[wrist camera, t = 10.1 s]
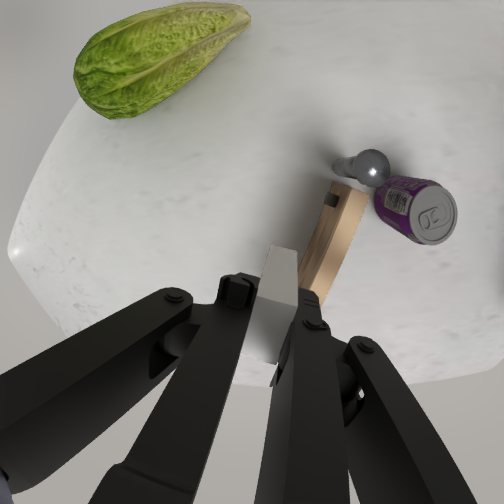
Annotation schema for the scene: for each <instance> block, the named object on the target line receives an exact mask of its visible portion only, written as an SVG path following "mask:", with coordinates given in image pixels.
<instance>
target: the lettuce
mask: <svg viewBox="0 0 504 504" xmlns="http://www.w3.org/2000/svg"><path fill="white" fill-rule="evenodd" d="M250 26H251V20H250V14H249V13H248V12H247V10H246V9H245V8H244V7H243V6H238V5H233V4H222V3H207V2H187V3H182V4H177V5H173V6H168V7H163V8H159V9H153V10H149V11H144V12H141V13H138V14H135V15H133V16H130V17H128V18H126V19H123V20H121V21H118V22H116V23H114V24H111V25H109V26H108V27H106V28H104V29H103V30H101V31H99V32H98V33H96V34H95V35H94V36H92V37H91V38H90V39H89V41H88V42H87V44H86V45H85V46H84V48H83V49H82V51H81V52H80V54H79V55H78V57H77V58H76V63H75V67H74V75H73V78H74V81H75V84H76V87H77V89H78V92H79V94H80V96H81V98H82V99H83V100H84V101H85V103H86V104H87V105H88V106H89V107H90V108H92V109H93V110H94V111H96V112H97V113H98V114H100V115H102V116H104V117H106V118H108V119H122V118H132V117H135V116H138V115H140V114H142V113H144V112H146V111H148V110H150V109H151V108H153V107H154V106H156V105H157V104H159V103H160V102H162V101H163V100H165V99H166V98H168V97H169V96H171V95H172V94H174V93H175V92H177V91H178V90H179V89H180V88H182V87H183V86H184V85H185V84H187V83H188V82H189V81H190V80H192V79H193V78H194V77H196V76H197V75H198V74H199V73H200V72H201V71H202V70H203V69H204V68H205V67H206V66H207V65H208V64H209V63H211V62H212V61H213V60H214V58H215V57H216V56H217V55H218V54H219V53H220V52H221V51H222V50H223V49H224V48H225V47H226V46H227V45H228V44H229V43H230V42H231V41H232V39H233V38H235V37H236V36H238V35H239V34H241V33H242V32H243V31H244V30H246V29H247V28H248V27H250Z"/></svg>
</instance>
